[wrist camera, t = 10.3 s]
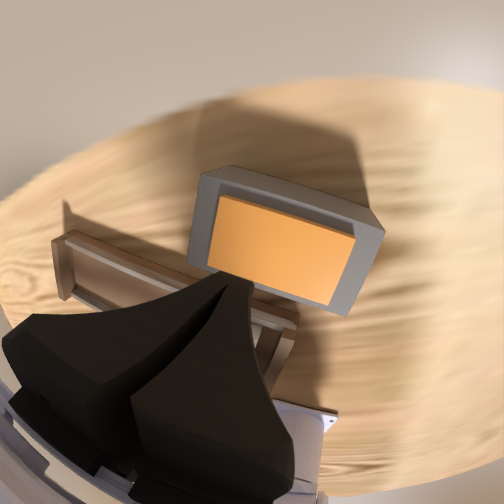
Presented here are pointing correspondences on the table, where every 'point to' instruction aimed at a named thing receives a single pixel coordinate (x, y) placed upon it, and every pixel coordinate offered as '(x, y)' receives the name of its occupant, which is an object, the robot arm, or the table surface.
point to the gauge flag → (278, 249)
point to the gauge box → (295, 203)
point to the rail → (154, 291)
